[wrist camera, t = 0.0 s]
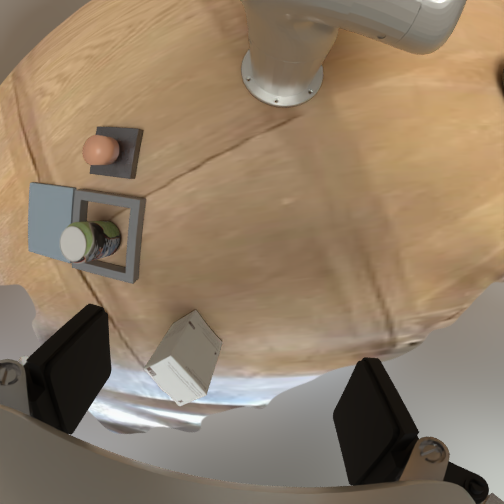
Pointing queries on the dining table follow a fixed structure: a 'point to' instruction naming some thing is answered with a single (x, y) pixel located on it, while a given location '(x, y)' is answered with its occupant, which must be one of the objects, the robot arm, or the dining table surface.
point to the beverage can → (89, 241)
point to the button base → (121, 152)
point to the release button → (100, 150)
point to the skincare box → (185, 359)
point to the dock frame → (134, 233)
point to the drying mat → (49, 218)
